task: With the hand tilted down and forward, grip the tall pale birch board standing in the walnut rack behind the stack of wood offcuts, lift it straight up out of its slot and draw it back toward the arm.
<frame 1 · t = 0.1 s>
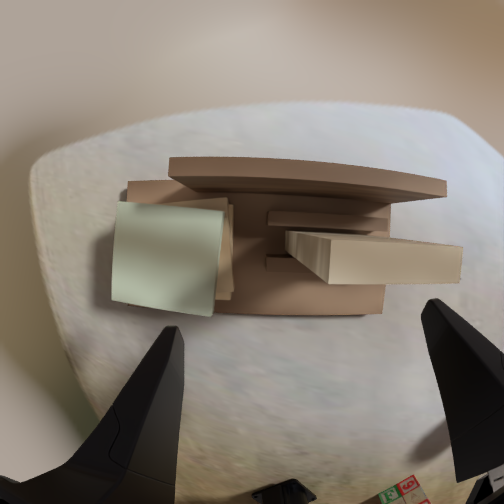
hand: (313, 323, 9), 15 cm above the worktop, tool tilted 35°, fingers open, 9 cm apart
offcut rack: (318, 240, 24), on the worktop
offcut stack: (182, 249, 22), point 1 cm above the worktop, touching offcut rack
birch board: (322, 241, 22), point 1 cm above the worktop, touching offcut rack
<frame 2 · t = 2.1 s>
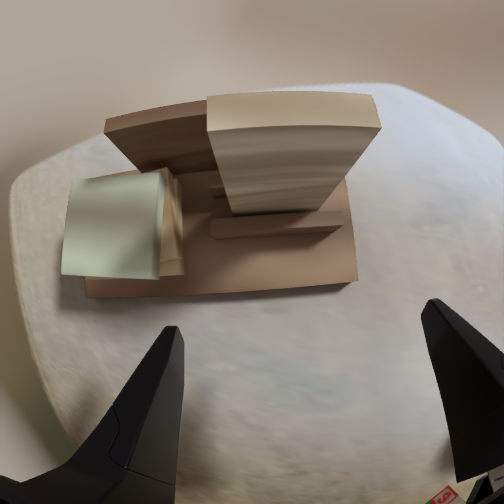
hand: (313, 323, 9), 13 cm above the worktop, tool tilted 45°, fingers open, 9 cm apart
offcut rack: (272, 213, 23), on the worktop
offcut stack: (134, 233, 22), point 1 cm above the worktop, touching offcut rack
birch board: (274, 208, 22), point 1 cm above the worktop, touching offcut rack
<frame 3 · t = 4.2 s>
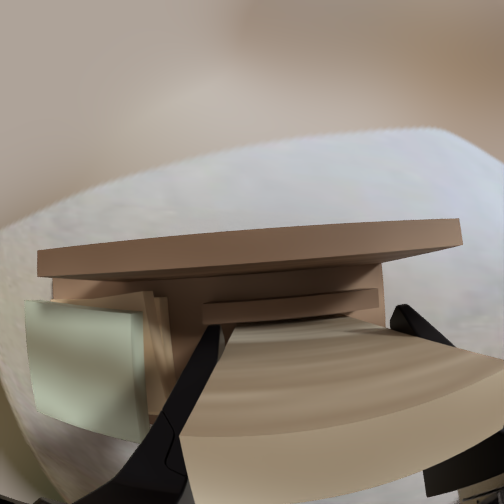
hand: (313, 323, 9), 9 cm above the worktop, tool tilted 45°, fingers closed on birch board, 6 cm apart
offcut rack: (287, 328, 18), on the worktop
offcut stack: (114, 352, 16), point 1 cm above the worktop, touching offcut rack
birch board: (290, 331, 16), point 1 cm above the worktop, touching gripper, offcut rack
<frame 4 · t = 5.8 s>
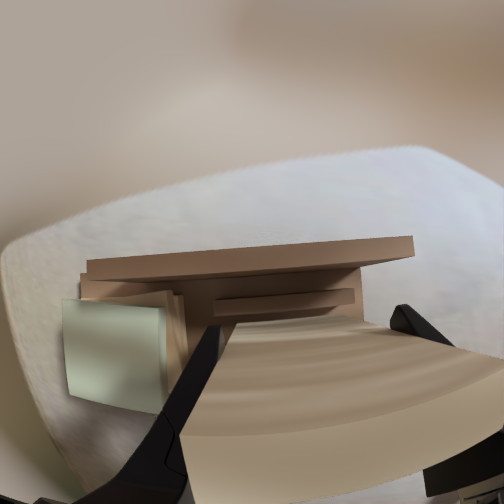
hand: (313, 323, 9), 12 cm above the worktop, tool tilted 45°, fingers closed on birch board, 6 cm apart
offcut rack: (282, 320, 21), on the worktop
offcut stack: (137, 342, 20), point 1 cm above the worktop, touching offcut rack
birch board: (290, 331, 16), point 5 cm above the worktop, touching gripper
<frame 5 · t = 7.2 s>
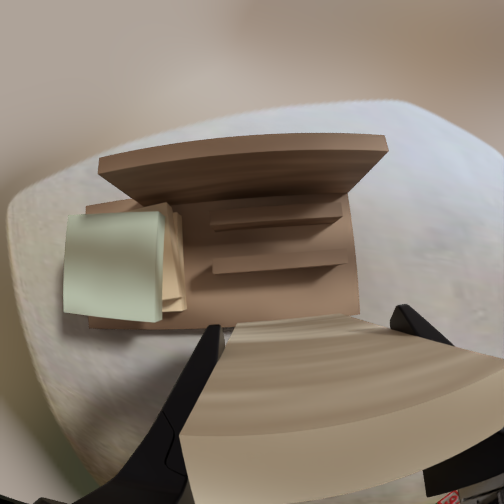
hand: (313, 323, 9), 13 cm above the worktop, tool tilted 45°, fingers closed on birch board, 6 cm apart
offcut rack: (275, 244, 23), on the worktop
offcut stack: (135, 265, 21), point 1 cm above the worktop, touching offcut rack
birch board: (290, 331, 16), point 6 cm above the worktop, touching gripper
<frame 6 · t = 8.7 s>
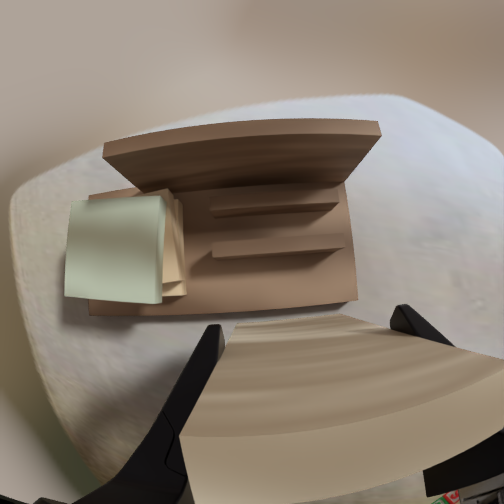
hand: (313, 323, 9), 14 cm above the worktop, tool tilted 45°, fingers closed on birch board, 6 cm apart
offcut rack: (274, 232, 23), on the worktop
offcut stack: (136, 252, 22), point 1 cm above the worktop, touching offcut rack
birch board: (290, 331, 16), point 6 cm above the worktop, touching gripper
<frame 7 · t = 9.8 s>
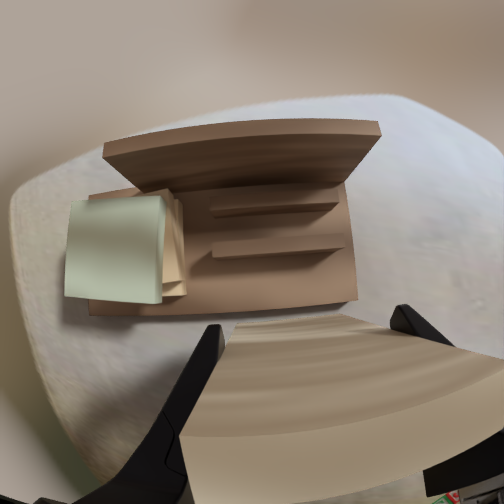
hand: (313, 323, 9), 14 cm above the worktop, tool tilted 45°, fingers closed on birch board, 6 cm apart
offcut rack: (274, 232, 23), on the worktop
offcut stack: (136, 252, 22), point 1 cm above the worktop, touching offcut rack
birch board: (290, 331, 16), point 6 cm above the worktop, touching gripper
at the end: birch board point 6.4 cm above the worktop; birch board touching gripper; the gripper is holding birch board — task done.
